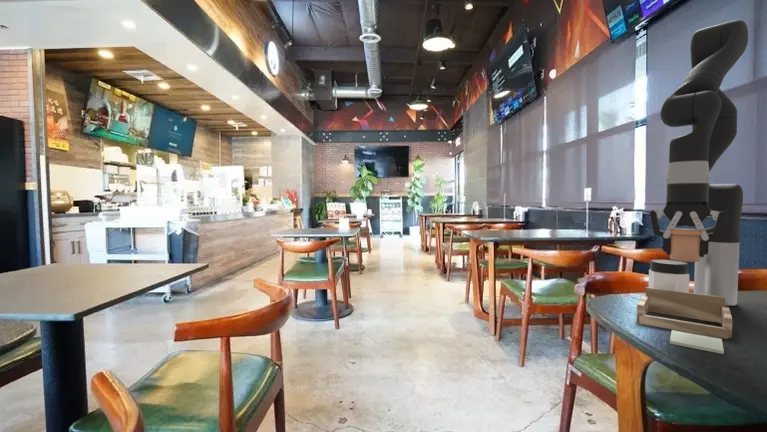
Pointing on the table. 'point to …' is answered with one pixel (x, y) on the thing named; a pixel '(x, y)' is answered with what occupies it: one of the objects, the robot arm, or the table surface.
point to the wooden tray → (685, 312)
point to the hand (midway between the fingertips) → (684, 255)
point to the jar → (669, 275)
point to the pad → (697, 341)
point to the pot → (685, 245)
